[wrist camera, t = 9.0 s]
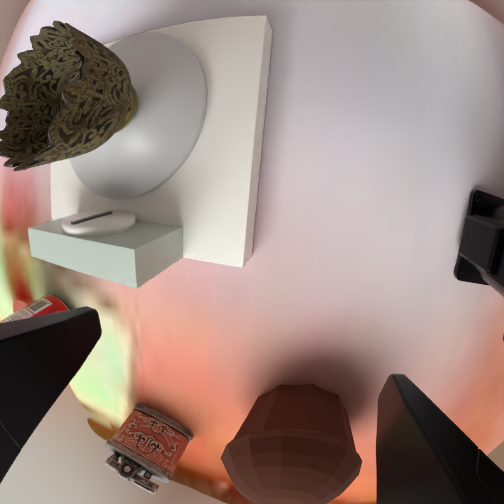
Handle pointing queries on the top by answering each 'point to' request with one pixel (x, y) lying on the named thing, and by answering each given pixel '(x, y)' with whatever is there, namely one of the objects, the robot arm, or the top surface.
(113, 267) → the scale
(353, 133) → the top surface
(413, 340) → the top surface
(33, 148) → the ornate brown lamp shade
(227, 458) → the muffin
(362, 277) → the top surface
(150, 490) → the lighter
